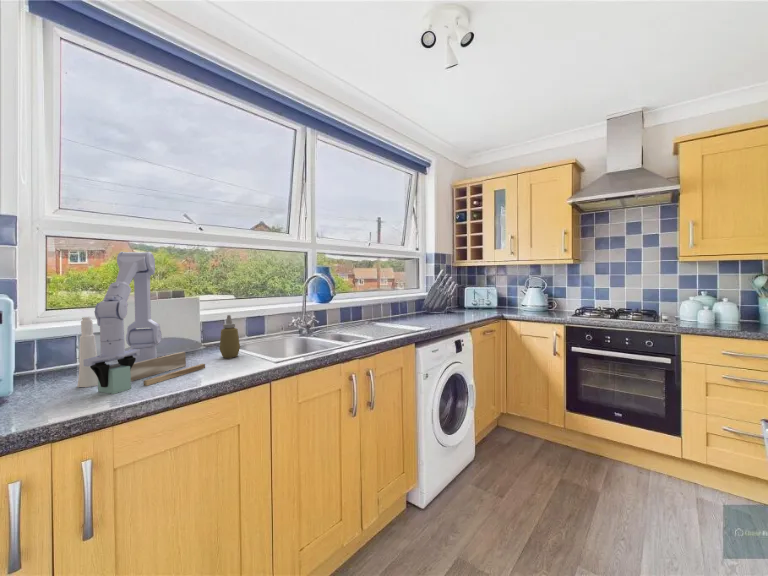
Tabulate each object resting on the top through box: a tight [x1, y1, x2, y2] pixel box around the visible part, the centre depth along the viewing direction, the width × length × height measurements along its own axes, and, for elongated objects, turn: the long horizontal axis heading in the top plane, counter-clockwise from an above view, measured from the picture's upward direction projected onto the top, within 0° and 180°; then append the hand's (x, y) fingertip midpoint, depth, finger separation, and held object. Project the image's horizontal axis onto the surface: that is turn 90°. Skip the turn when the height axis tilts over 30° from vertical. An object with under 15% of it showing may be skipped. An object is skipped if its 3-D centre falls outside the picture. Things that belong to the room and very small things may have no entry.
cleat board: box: [130, 351, 206, 387], centre depth 120 cm, size 12×22×6 cm, turn 160°
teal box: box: [97, 363, 132, 395], centre depth 104 cm, size 7×5×8 cm
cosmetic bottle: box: [76, 316, 98, 388], centre depth 109 cm, size 6×6×22 cm
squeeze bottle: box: [219, 314, 241, 359], centre depth 145 cm, size 8×8×18 cm
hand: (114, 383), depth 104 cm, fingers closed on teal box, 5 cm apart
